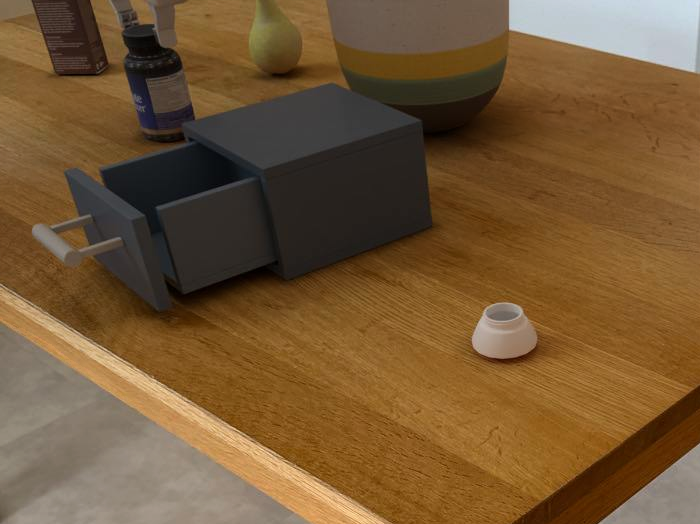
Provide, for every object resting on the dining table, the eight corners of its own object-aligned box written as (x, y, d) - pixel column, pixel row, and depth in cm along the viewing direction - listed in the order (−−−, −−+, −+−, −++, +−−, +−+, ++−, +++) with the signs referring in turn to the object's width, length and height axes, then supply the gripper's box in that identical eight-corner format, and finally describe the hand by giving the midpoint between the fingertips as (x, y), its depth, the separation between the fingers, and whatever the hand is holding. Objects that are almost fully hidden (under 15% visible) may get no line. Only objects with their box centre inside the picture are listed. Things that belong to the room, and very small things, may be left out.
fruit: (310, 64, 134) (293, -38, 126) (300, 82, 128) (282, -23, 120) (260, 66, 134) (240, -36, 126) (248, 84, 128) (226, -21, 120)
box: (111, 65, 136) (81, -36, 128) (97, 75, 133) (66, -27, 125) (68, 65, 136) (36, -35, 129) (53, 75, 133) (19, -27, 125)
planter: (548, 113, 117) (543, -102, 103) (444, 169, 105) (423, -65, 91) (418, 86, 126) (398, -116, 112) (309, 135, 114) (271, -84, 100)
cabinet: (286, 281, 88) (262, 169, 81) (207, 228, 96) (180, 123, 90) (432, 226, 95) (422, 120, 89) (347, 182, 104) (332, 82, 97)
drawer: (101, 333, 80) (67, 239, 74) (38, 276, 87) (4, 187, 82) (314, 256, 89) (297, 167, 84) (240, 210, 97) (220, 126, 91)
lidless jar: (541, 359, 77) (532, 327, 80) (540, 325, 75) (530, 293, 78) (476, 366, 76) (469, 333, 80) (473, 331, 74) (467, 299, 78)
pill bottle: (139, 130, 117) (109, 27, 109) (191, 120, 119) (166, 18, 111) (149, 147, 113) (119, 41, 105) (204, 136, 115) (178, 31, 107)
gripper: (37, -120, 104) (83, 25, 114) (118, -97, 92) (161, 63, 102) (96, -129, 107) (136, 13, 116) (181, -107, 95) (218, 49, 105)
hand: (148, 37), depth 109 cm, fingers open, 8 cm apart
